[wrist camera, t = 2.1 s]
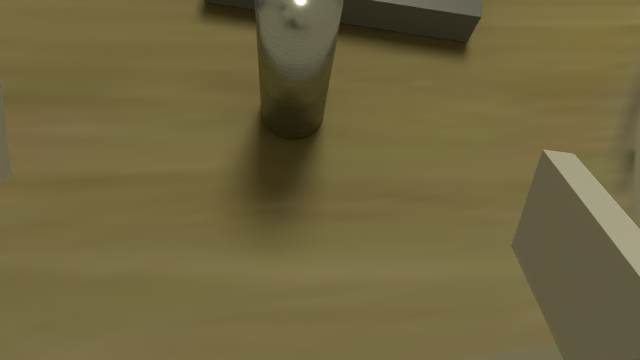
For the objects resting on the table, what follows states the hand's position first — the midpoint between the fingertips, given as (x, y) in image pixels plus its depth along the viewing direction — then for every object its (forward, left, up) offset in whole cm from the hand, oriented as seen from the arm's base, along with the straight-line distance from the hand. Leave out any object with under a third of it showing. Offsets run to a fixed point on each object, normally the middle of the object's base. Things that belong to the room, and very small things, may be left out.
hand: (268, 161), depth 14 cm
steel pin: (-1, +11, -21) cm, 24 cm away
